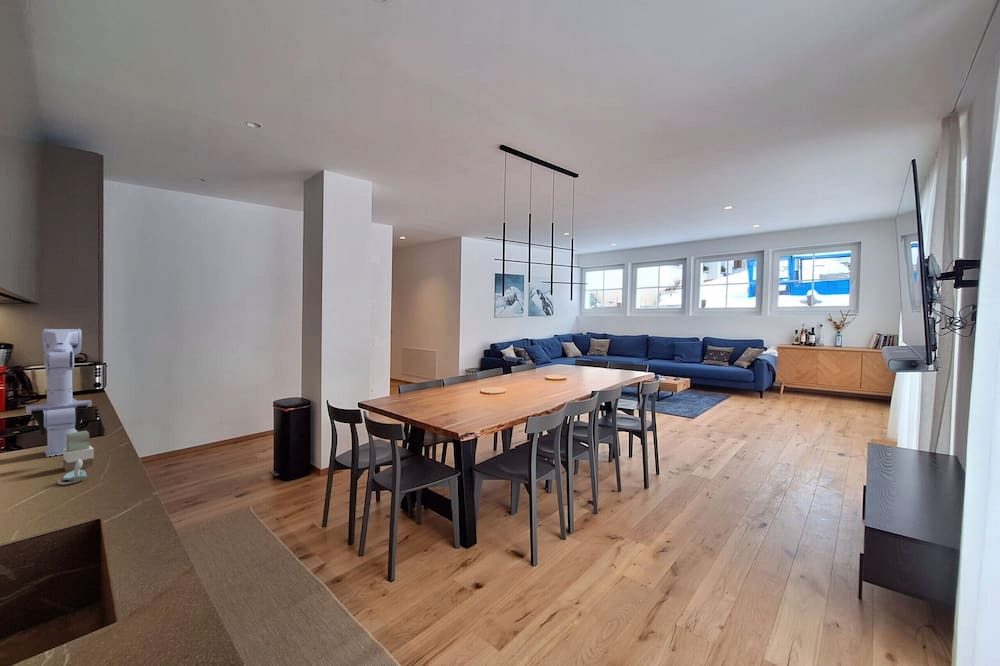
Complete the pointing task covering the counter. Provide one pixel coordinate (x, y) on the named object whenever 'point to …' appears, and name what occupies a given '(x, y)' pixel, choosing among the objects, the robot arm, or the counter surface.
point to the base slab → (71, 465)
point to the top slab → (78, 454)
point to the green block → (77, 441)
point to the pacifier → (74, 474)
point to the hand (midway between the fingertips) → (60, 431)
